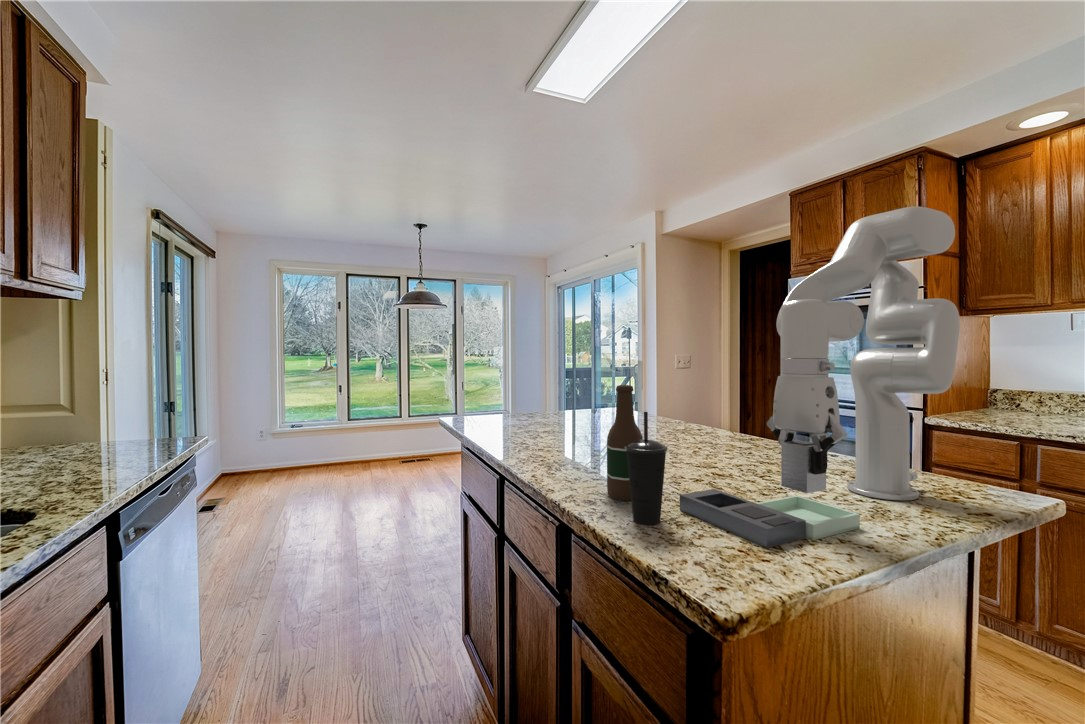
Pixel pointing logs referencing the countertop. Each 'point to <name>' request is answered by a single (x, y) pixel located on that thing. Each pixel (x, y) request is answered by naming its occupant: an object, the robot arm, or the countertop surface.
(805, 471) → the block
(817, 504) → the parts tray
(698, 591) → the countertop surface
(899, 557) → the countertop surface
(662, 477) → the drinking cup
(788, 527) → the grey slotted block
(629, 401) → the beer bottle
